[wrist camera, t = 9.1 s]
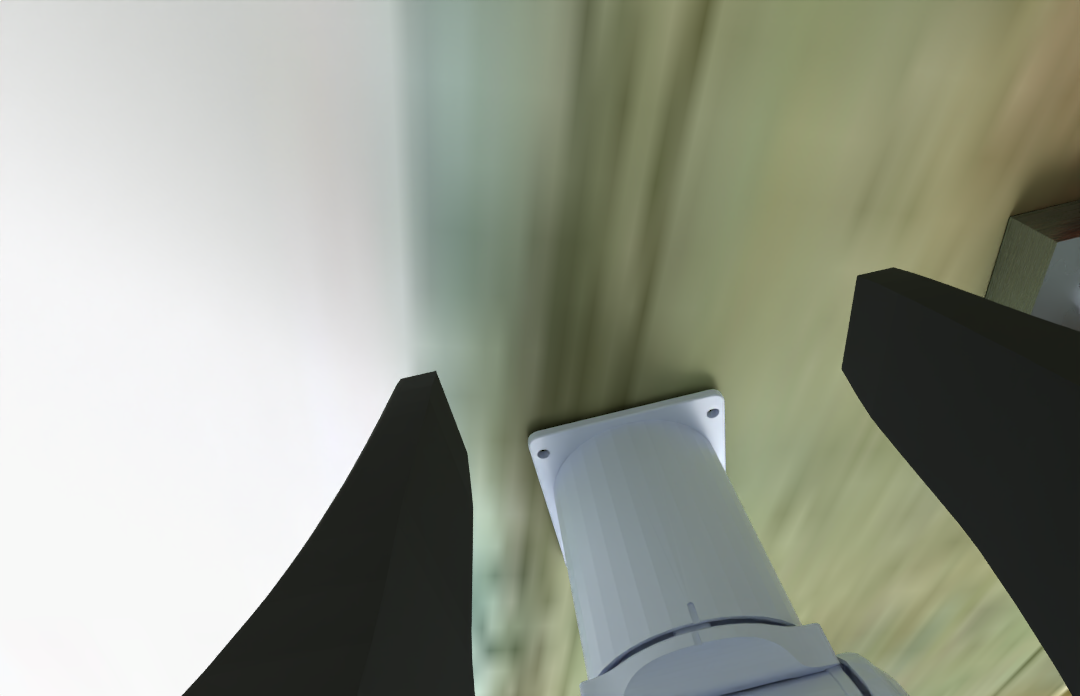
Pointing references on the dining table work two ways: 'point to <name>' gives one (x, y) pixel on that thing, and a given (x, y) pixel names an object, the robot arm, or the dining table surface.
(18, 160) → the dining table surface
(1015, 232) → the lip
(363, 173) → the dining table surface
